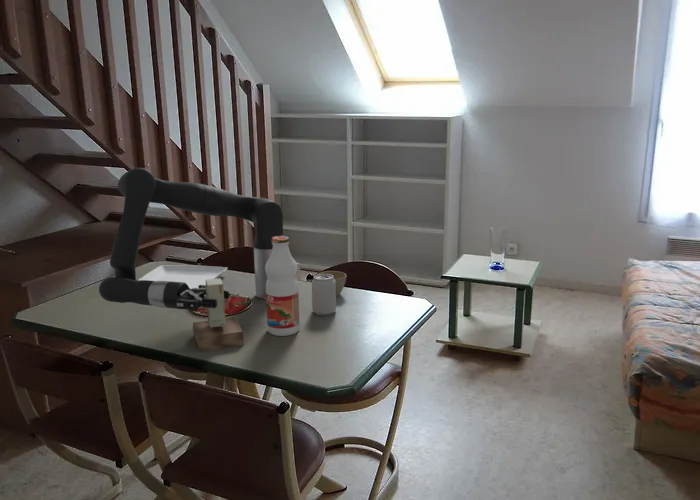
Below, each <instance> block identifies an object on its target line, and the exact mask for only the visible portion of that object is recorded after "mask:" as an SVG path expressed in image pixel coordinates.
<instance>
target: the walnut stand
mask: <svg viewBox="0 0 700 500" xmlns="http://www.w3.org/2000/svg"><path fill="white" fill-rule="evenodd" d="M225 320H226V326H218V327H210V325H209V321H208V320H204V321H203V320H202V321H196V322H192V330H193V337H194V340H195V343H196V346H197V348H198V351H199V352H206V351H212V350H214V351H215V350H219V349H225V348H226V349H227V348H233V347H239V346H244V345H245V343H244V342H245V341H244V331H243V329H242V327H241V325H240V324H239V321H238V320H237V318H236V317H235V316H232V317H231V316H230V317H225Z"/></svg>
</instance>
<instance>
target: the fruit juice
mask: <svg viewBox="0 0 700 500" xmlns="http://www.w3.org/2000/svg"><path fill="white" fill-rule="evenodd" d="M272 244H273V248H272V252H271V255H270V258H269V260H268V261H267V263H266V266H265V271H266V275H267V281H266V299H265V301H266V302H265V303H266V327H267V332H268V333H269V334H271V335H273V336H277V337H287V336H292V335H295V334H297V333H298V332H299V331H300V327H301V326H300V298H299V297H300V295H299V294H300V293H299V282H298V279H297V273H298V263H297V262H296V260H295V258H293V256H292V254H291V251H290V247H289V244H290V237H289V236H285V235H283V236H275V237H272Z"/></svg>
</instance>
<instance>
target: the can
mask: <svg viewBox="0 0 700 500" xmlns="http://www.w3.org/2000/svg"><path fill="white" fill-rule="evenodd" d="M317 274H318V275H317ZM317 274H315V275H313V279H312V280H311V306H312V310H311V311H312V312H313V313H315V314H316V315H318V316H330V315H333V314H334V313H335V312H336V310H337V300H336V299H337V297H336V281H335V279H334V278H333V275H331V274H319V273H317ZM332 313H333V314H332Z"/></svg>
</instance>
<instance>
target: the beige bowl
mask: <svg viewBox="0 0 700 500" xmlns="http://www.w3.org/2000/svg"><path fill="white" fill-rule="evenodd" d="M318 274H331V275H333V278H334V279H335V281H336V298H337V297H339V296H340V294H341V293H342V291H343V290H344V286H345V284H346V281H347V274H346V273H345V272H342V271H338V270H337V271H336V270H326V271H322V272H319V273H317V274H316V275H318Z"/></svg>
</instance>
